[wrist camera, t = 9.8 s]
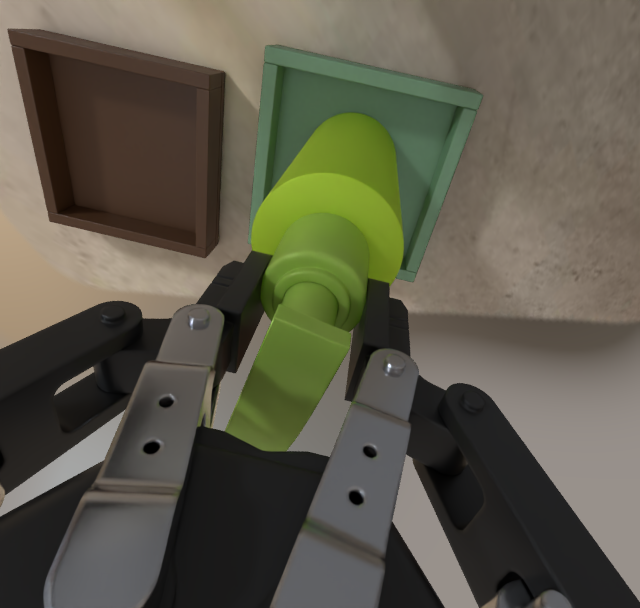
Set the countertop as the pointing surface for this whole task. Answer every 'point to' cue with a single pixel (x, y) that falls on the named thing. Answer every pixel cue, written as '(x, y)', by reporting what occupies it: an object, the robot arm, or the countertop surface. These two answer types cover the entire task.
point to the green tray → (382, 105)
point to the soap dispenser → (318, 271)
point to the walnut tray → (124, 139)
